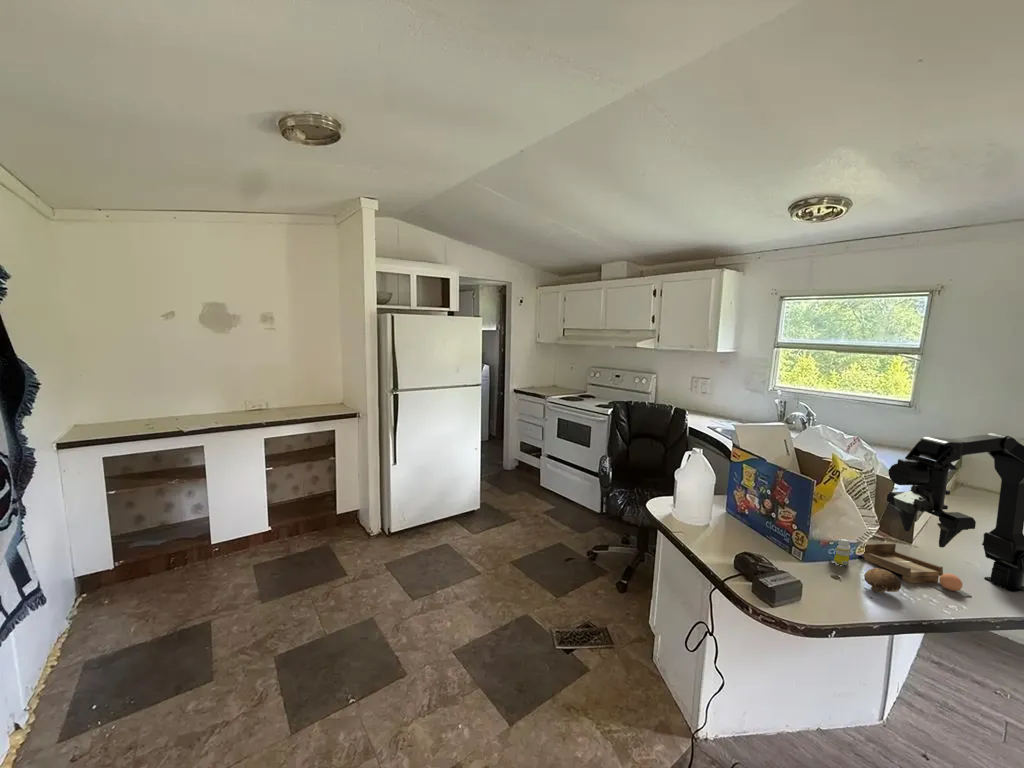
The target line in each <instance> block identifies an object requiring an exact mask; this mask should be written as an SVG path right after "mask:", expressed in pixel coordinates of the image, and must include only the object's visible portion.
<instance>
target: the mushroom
mask: <svg viewBox="0 0 1024 768" xmlns="http://www.w3.org/2000/svg"><path fill="white" fill-rule="evenodd" d="M863 577H864V581H865V582H866V583H867V584H868V585H869V586H871V587H870V589H871V590H872V591H874V593H875V592H876V593H878V594H884V593H885V592H888V593H891V592H892V593H897V592H898V591H900V590H901V588H902V581H901V580H900V578H899V577H898V576H897V575H896V574H894V573H893V572H891V571H890V570H888V569H885V568H879V567H874V568H871V569H868V570H867V571H865V573H864V574H863Z"/></svg>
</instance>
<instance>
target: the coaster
mask: <svg viewBox="0 0 1024 768" xmlns="http://www.w3.org/2000/svg"><path fill="white" fill-rule="evenodd" d="M927 585H928V586H930V587H932V588H933V589H935V590H938V591H940V592H941V593H942V594H944V595H946V596H948V597H950V598H972V597H973V596H972V595H971V594H970V593H967V592H966V591H964V590H961V589H960V590H958V591H950V590H948V589H946V588H944V587H943V586H942V585H941V583H940V582H937V583H927Z"/></svg>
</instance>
